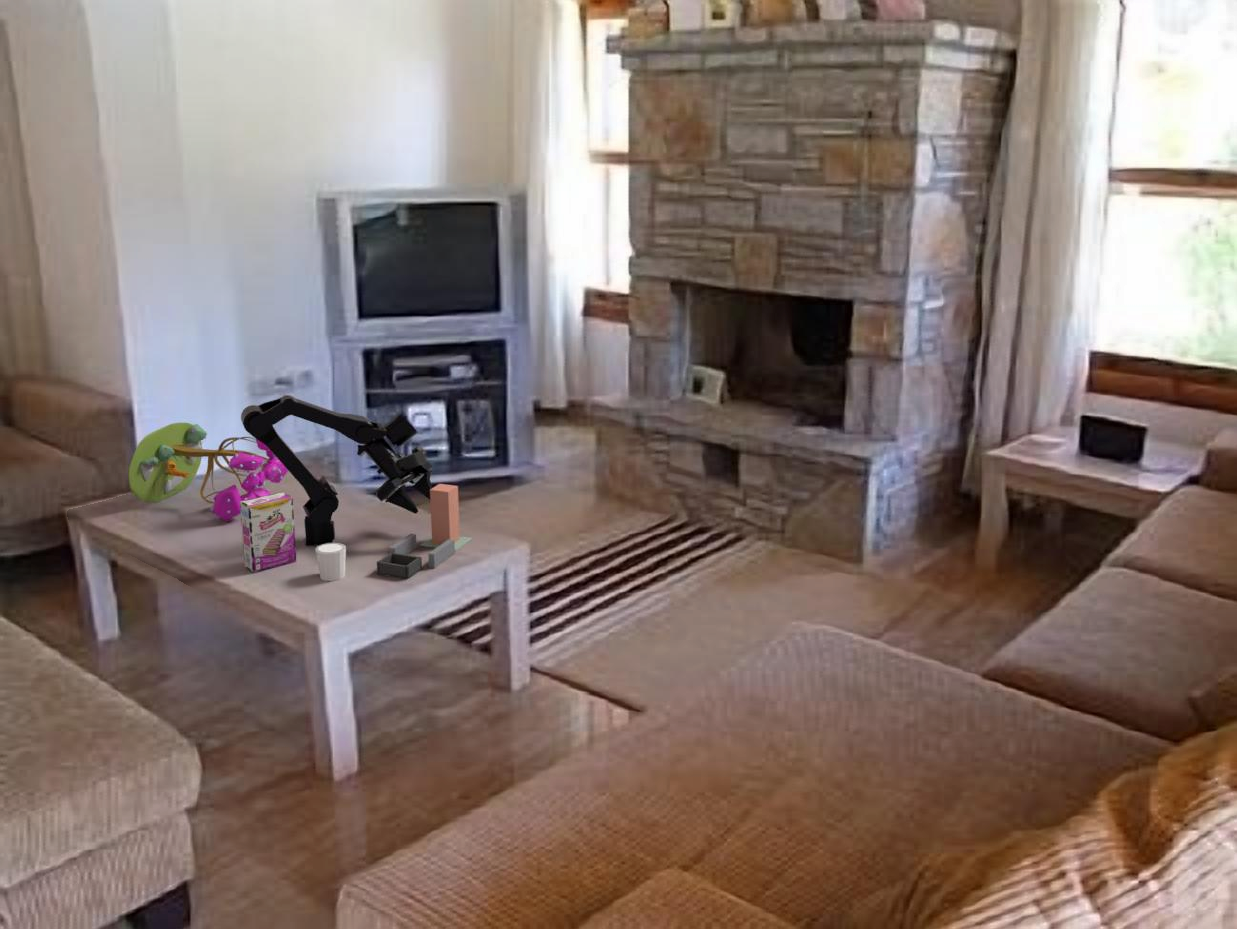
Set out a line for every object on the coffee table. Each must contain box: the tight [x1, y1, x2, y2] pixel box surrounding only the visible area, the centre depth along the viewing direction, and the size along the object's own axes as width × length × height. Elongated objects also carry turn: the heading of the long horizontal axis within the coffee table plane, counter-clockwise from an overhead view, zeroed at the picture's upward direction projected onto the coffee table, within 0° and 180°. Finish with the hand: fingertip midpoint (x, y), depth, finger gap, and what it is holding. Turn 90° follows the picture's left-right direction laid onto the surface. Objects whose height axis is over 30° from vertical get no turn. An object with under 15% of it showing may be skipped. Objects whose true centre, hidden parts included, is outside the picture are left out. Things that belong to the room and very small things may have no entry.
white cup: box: [315, 542, 347, 582], centre depth 265 cm, size 7×7×7 cm
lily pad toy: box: [127, 421, 290, 522], centre depth 309 cm, size 30×28×35 cm
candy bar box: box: [240, 492, 297, 573], centre depth 270 cm, size 11×5×16 cm, turn 133°
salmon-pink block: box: [429, 483, 460, 545], centre depth 285 cm, size 5×5×14 cm
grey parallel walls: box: [388, 533, 456, 569], centre depth 277 cm, size 12×10×4 cm
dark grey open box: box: [376, 553, 423, 580], centre depth 269 cm, size 8×6×3 cm
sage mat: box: [419, 536, 474, 552], centre depth 287 cm, size 10×9×1 cm
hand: (426, 506), depth 286 cm, fingers open, 9 cm apart
